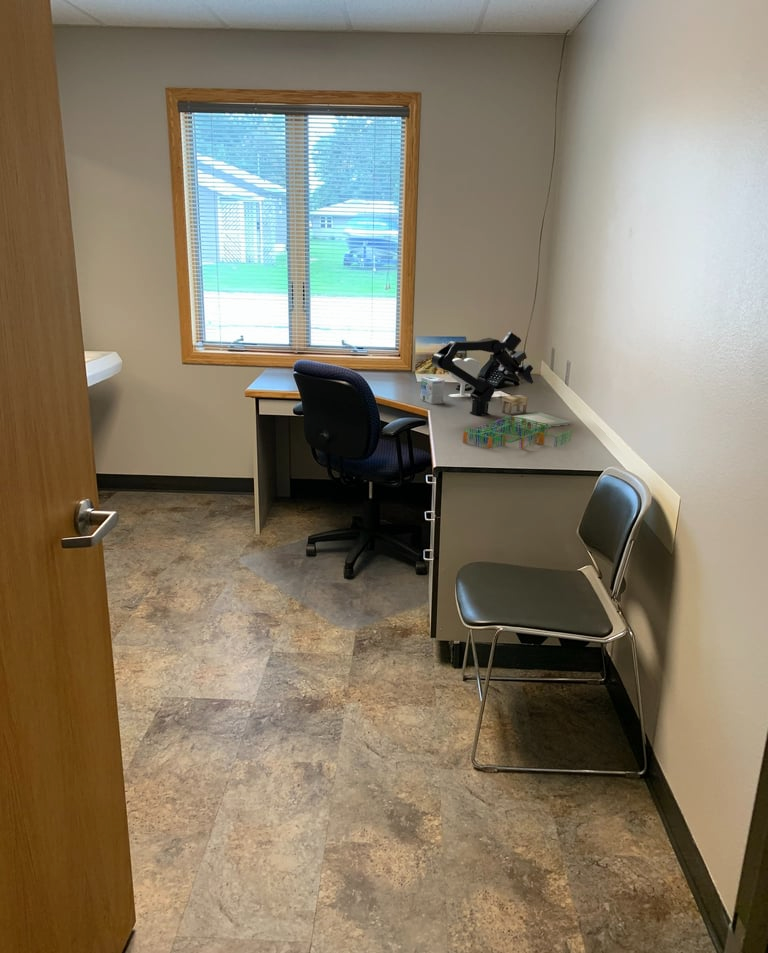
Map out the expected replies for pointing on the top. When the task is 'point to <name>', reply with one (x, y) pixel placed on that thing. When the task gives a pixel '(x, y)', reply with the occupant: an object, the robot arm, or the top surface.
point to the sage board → (542, 419)
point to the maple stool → (514, 403)
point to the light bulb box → (432, 390)
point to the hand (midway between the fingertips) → (525, 381)
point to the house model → (511, 421)
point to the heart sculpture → (468, 366)
